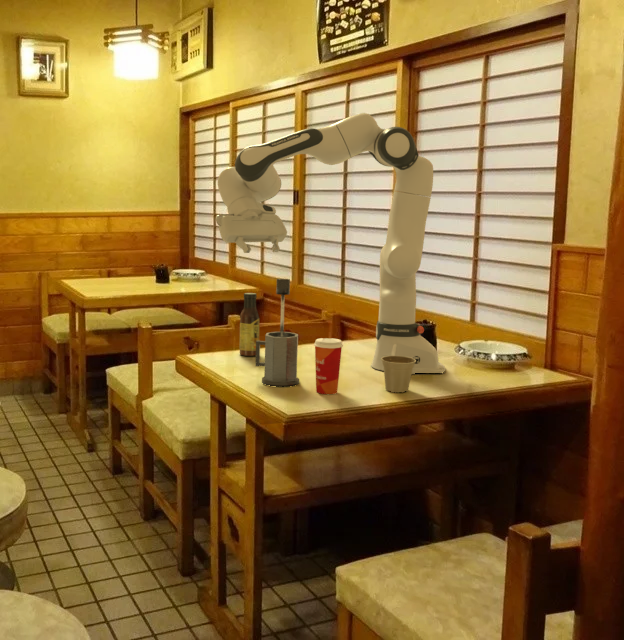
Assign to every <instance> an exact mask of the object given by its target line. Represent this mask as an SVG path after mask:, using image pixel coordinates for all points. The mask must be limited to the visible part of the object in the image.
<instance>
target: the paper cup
mask: <svg viewBox="0 0 624 640" xmlns="http://www.w3.org/2000/svg"><path fill="white" fill-rule="evenodd" d="M313 346H314V354H315V355H314V359H315V360H314V363H315V391H316V393H318V394H320V395H327V394H329V395H335V393H336V394H337V393H338V388H339V379H340V378H339V377H340V367H341V359H342V348H343V346H344V345H343V343H342V340H341V339H338V338H332V337H331V338H327V337H325V338H322V337H321V338H317V339H315V342H314V344H313Z"/></svg>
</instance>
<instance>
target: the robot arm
mask: <svg viewBox="0 0 624 640" xmlns="http://www.w3.org/2000/svg"><path fill="white" fill-rule="evenodd" d="M364 152H365V153H366V152H368V153H369V154H370V155H371V156H372V158H374V159H375V161H377V163H378V164H380V165H382V166H383V167H388V168H389V167H391V168H393V169H394V171H395V184H394V190H393V193H392V194H393V195H392V198H391V199H392V200H391V204H390V209H389V210H390V211H389V214H388V223H387V224H388V225H387V233H386V238H385V240H386V241H385V244H384V245H383V246H382V248H381V249H380V254H379V301H378V302H379V304H378V320H377V322H376V325H375V327H376V328H375V337H376V338H375V339H376V346H375V350H374V354H373V357H372V362H371V365H370V367H371V368H373V369H375V370H378V371H383V372H384V366H383V363H382V360H381V358H382V357H385V356H405V357H410V358H413V359H415V360H416V362H415V363H414V367H413V369H412V374H411V375H416V374H415V373H442V372H444V371H445V372H446V367H445V365H444V364H443V363H441V362H440V361H439V355H438V351H437V349H436V347H435V346H433V344H432V343H430V342H429V341H428V340H427V339H426V338H424V337H423V336H422V334H423V333H424V331H425V329H424V327H423V326H422V325H421V324H419V323H417V322H416V308H417V289H416V288H417V286H416V285H417V282H416V279H417V278H416V277H417V275H416V273H417V272H418V271H419V269H420V267H421V262H422V256H423V249H424V243H425V242H424V241H425V234H426V233H425V232H426V231H425V230H426V224H427V223H426V222H427V219H428V213H429V209H430V208H429V207H430V203H431V199H432V198H431V197H432V193H433V192H432V191H433V187H434V165H433V164H432V162H431V161H430V160H429V159H427V157H424V156H421V155H419V151H418V149H417V145H416V142H415V140H414V137H413V136H412V134H411V133H410V131H409V130H407V129H405V128H404V127H401V126H392V127H391V126H390V127H389V128H386V129H385V128H384V129H383V128H381V127H380V126H379V125H378V122H377V121H376V119H375V118H374V117H373V116H372V115H370V114H369V113H365V112H362V113H359V114H354V115H351V116H348V117H345V118H342V119H341V120H338V121H337V122H334V123H332V124H330V125H327V126H324V127H322V128H321V127H320V128H313V127H311V128H305V129H302V130H298V131H295V132H293V133H291V134H288V135H285V136H282V137H279V138H277V139H273V140H271V141H267V142H265V143H261V144H260V143H259V144H252V145H248V146H246V147H244V148H243V149H242V150H241V151H240V152H239V153H238V155H237V157H236V159H235V160H234V166H229V167H227V168H225V169H223V170H222V171H221V172H220V174H219V176H218V179H217V188H218V191H219V195H220V197H221V200H222V202H223V204H224V205H225V207H227V209H226V210H227V213H228V214H227V213H226V214H223V213H220V214H218V215H216V216H215V221H216V224H217V226H218V230H219V234H220V236H221V239H222V241H223V242H224V243H228V244H229V243H233V244H234V243H235V244H236V246H237V247H239V248H240V249H242V251H243V253H244V254H248V253H249V254H250V252H251V251H252V249H251V248H252V247H251V245H250V244H247V243H271V244H272V246H271V251H272V253H279V251H280V245H279V243H282V242H283V241H285V239H286V237H287V235H288V231H287V228H286V226H285V224H284V223H283V220H282V218H281V217H280V216H279V215H277V210H276V208H275V207H274V206H271V205H268V204H264V203H263V202H266V201H268V200H271V199H273V198H274V197H275V196H277V195H278V194H279V192H280V191H281V188H282V180H281V178H280V175H279V174H278V172H277V170H276V168H275V166H274V165H275V164H277V163H279V162H282V161H284V160H286V159H290V158H291V157H295V156H297V155H308V156H311V157H313V158H315V159H316V160H318V162H320V163H323V164H325V165H329V166H333V165H338V164H341V163H343V162H346V161H348V160H350V159H351V158H353V157H354V158H355V157H356V156H357V155H360V154H362V153H364ZM445 372H444V373H445ZM442 374H443V373H442Z"/></svg>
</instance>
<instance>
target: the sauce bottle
mask: <svg viewBox="0 0 624 640" xmlns="http://www.w3.org/2000/svg"><path fill="white" fill-rule="evenodd" d="M243 301H244V302H243V309H242V310H241V312H240V315H239V316H240V317H239V319H240V320H239V321H240V322H239V345H238V348H239V355H241V356H243V357H254V356H255V357H256V340H257V341H260V315H259V313H258V309H257V293H255V292H254V293H253V292H245V293H243Z"/></svg>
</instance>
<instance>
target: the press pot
mask: <svg viewBox="0 0 624 640" xmlns="http://www.w3.org/2000/svg"><path fill="white" fill-rule="evenodd" d="M261 345H263V346H264V362H263V361H262V362H261V361H260V360H261V359H260V358H261ZM298 346H299V334H298V333H295V332H290V331H284V334H283V337H280V331H271V332H266V334H265V338H264V340H259V341H257V340H256V355H255V367H264V376H262V377H261V384H262V383H263V384H262V385H264V384H266V385H265V386H267V385H270V386H269V387H271V386H276V387H275V388H291V387H290V386H292V387H296V386H299V384H300V378H299V377H298V353H299V352H298V350H299V349H298V348H299V347H298ZM295 385H296V386H295Z"/></svg>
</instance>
